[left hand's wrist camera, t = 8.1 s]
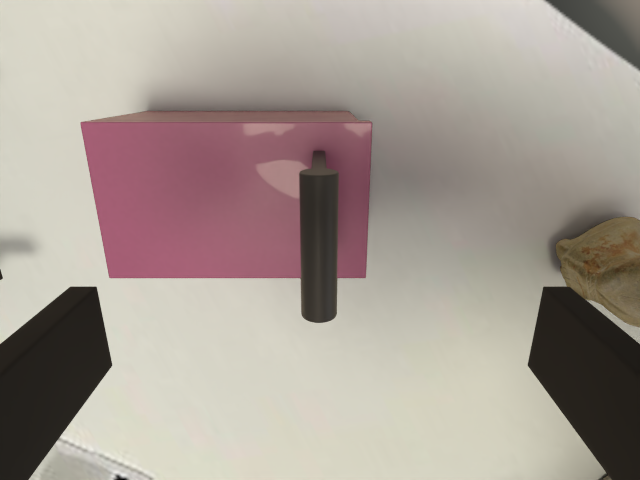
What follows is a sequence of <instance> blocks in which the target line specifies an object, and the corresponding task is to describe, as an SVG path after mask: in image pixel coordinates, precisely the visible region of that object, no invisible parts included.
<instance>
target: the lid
mask: <svg viewBox="0 0 640 480" xmlns="http://www.w3.org/2000/svg"><path fill="white" fill-rule="evenodd" d="M81 129H82V134H83V139H84V145H85V150H86V155H87V161H88V166H89V171H90V177H91V182H92V187H93V193H94V198H95V203H96V209H97V214H98V219H99V225H100V230H101V235H102V241H103V246H104V252H105V257H106V262H107V268H108V273H109V278H301V313H302V316H303V318H304V319H306V320H308V321H310V322H315V323H323V322H328V321H331V320H332V319H334V318H335V316H336V314H337V278H366V262H367V237H368V213H369V189H370V164H371V140H372V122H371V121H85V122H81Z"/></svg>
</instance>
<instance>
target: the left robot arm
mask: <svg viewBox="0 0 640 480" xmlns="http://www.w3.org/2000/svg"><path fill="white" fill-rule="evenodd" d="M111 366H112V362H111V357H110V352H109V347H108V342H107V337H106V332H105V327H104V322H103V317H102V312H101V307H100V302H99V297H98V292H97V287H70V288H68V289H67V290H66V291H65V292H63V293H62V294H61V295H60V296H59V297H57V298H56V299H55V300H54V301H52V302H51V303H50V304H49V305H48V306H46V307H45V308H44V309H43V310H41V311H40V312H39V313H38V314H37V315H35V316H34V317H33V318H32V319H30V320H29V321H28V322H27V323H26V324H24V325H23V326H22V327H21V328H19V329H18V330H17V331H16V332H15V333H13V334H12V335H11V336H10V337H8V338H7V339H6V340H5V341H4V342H2V343H1V344H0V480H28V479H29V478H30V477H31V475H32V474H33V473H34V471H35V470H36V469H37V467H38V466H39V464H40V463H41V462H42V460H43V459H44V458H45V456H46V455H47V454H48V452H49V451H50V449H51V448H52V447H53V445H54V444H55V443H56V441H57V440H58V439H59V437H60V436H61V434H62V433H63V432H64V430H65V429H66V428H67V426H68V425H69V424H70V422H71V421H72V420H73V418H74V417H75V415H76V414H77V413H78V411H79V410H80V409H81V407H82V406H83V405H84V403H85V402H86V400H87V399H88V398H89V396H90V395H91V394H92V392H93V391H94V390H95V388H96V387H97V385H98V384H99V383H100V381H101V380H102V379H103V377H104V376H105V375H106V373H107V372H108V371H109V369H110V368H111ZM528 366H529V368H530V369H531V371H532V372H533V373H534V375H535V376H536V377H537V379H538V380H539V381H540V383H541V384H542V385H543V387H544V388H545V390H546V391H547V392H548V394H549V395H550V396H551V398H552V399H553V400H554V402H555V403H556V405H557V406H558V407H559V409H560V410H561V411H562V413H563V414H564V415H565V417H566V418H567V420H568V421H569V422H570V424H571V425H572V426H573V428H574V429H575V430H576V432H577V433H578V434H579V436H580V437H581V439H582V440H583V441H584V443H585V444H586V445H587V447H588V448H589V449H590V451H591V452H592V454H593V455H594V456H595V458H596V459H597V460H598V462H599V463H600V464H601V466H602V467H603V469H604V470H605V471H606V473H607V474H608V476H606V477H605V478H604V479H602V480H640V344H639V343H638V342H636V341H635V340H634V339H633V338H632V337H630V336H629V335H628V334H627V333H625V332H624V331H623V330H622V329H621V328H619V327H618V326H617V325H616V324H614V323H613V322H612V321H611V320H610V319H608V318H607V317H606V316H605V315H603V314H602V313H601V312H600V311H599V310H597V309H596V308H595V307H594V306H592V305H591V304H590V303H589V302H588V301H586V300H585V299H584V298H583V297H581V296H580V295H579V294H578V293H577V292H575V291H574V290H573V289H572V288H570V287H543V292H542V297H541V302H540V307H539V312H538V317H537V322H536V327H535V332H534V337H533V342H532V347H531V352H530V357H529V362H528Z"/></svg>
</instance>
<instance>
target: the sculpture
mask: <svg viewBox="0 0 640 480" xmlns="http://www.w3.org/2000/svg"><path fill="white" fill-rule="evenodd" d="M556 253H557V257H558V258H559V259H560V261H561V267H560V270H561V273H562V276H563V278H564V279H565V282H566V285H567V287H570V288H572V289H573V290H574V291H575V292H577V293H578V294H579V295H580V296H581V297H583V298H584V299H586V300H592V301H595V302H597V303H599V304H601V305H603V306H604V307H605V308H606V309H607V310H609V311H610V312H611V313H613V314H614V315H615V316H617V317H618V318H620V319H621V320H622V321H624V322H625V323H627V324H629V325H633V326H636V327H640V221H639V220H638V219H636V218H633V217H618V218H614V219H611V220H608V221H605V222H603V223H601V224H599V225H597V226H595V227H593V228H591V229H590V230H588V231H587V232H585V233H584V234H582V235H580V236H579V237H577V238H574V239H571V240H569V239H562V240H560V241H559V242H558V243H557V244H556Z"/></svg>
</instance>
